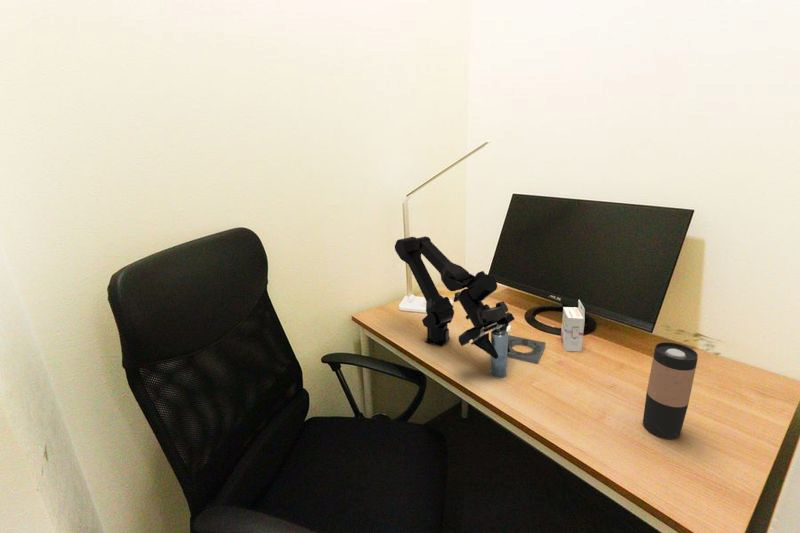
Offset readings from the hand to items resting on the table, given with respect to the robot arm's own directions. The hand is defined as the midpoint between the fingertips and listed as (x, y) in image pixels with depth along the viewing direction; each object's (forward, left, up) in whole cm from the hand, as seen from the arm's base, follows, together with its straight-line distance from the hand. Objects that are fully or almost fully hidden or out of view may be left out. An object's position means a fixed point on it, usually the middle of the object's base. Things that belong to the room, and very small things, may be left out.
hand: (502, 355), depth 106 cm
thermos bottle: (-1, +1, -7) cm, 7 cm away
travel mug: (+38, -4, -7) cm, 39 cm away
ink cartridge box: (+15, +27, -7) cm, 31 cm away
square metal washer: (+2, +17, -7) cm, 18 cm away
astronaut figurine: (-11, +29, -7) cm, 32 cm away
